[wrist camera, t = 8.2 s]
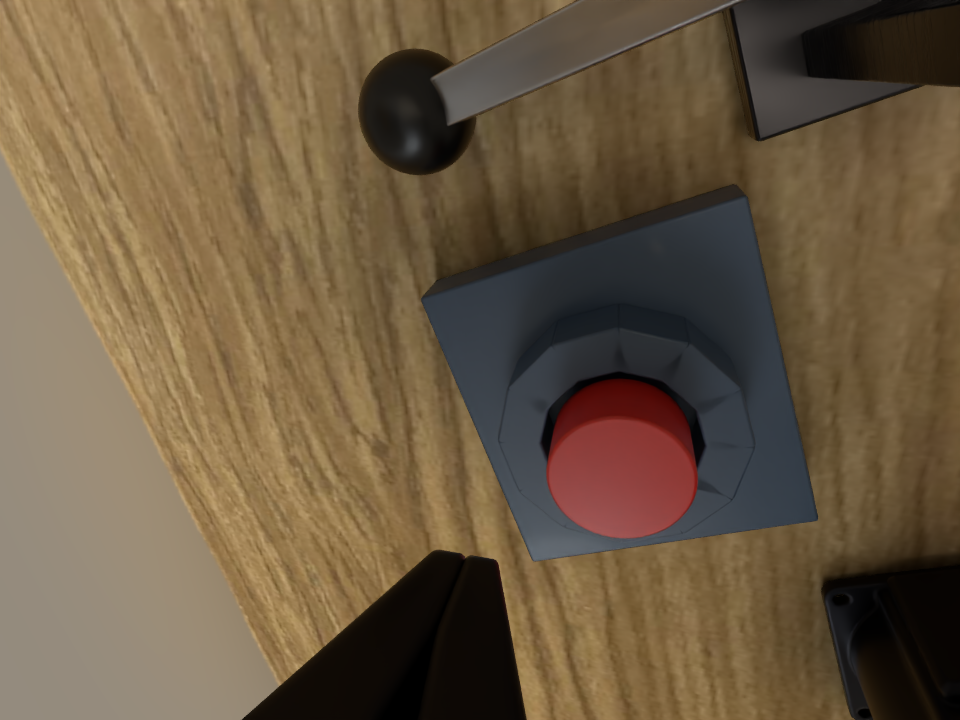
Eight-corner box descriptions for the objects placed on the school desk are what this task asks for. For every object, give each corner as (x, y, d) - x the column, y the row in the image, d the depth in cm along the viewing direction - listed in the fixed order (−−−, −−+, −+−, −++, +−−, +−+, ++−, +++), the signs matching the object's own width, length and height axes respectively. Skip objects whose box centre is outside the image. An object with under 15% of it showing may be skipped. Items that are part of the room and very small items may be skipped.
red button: (705, 478, 17) (714, 528, 15) (576, 500, 18) (571, 549, 16) (671, 362, 16) (677, 401, 14) (536, 394, 17) (525, 434, 15)
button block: (805, 486, 20) (838, 565, 17) (538, 530, 23) (524, 603, 20) (736, 182, 16) (762, 209, 13) (434, 280, 19) (398, 321, 16)
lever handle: (438, 168, 17) (365, 201, 15) (397, 64, 16) (315, 86, 14) (1339, -159, 7) (1440, -177, 5) (1371, -500, 6) (1510, -669, 4)
